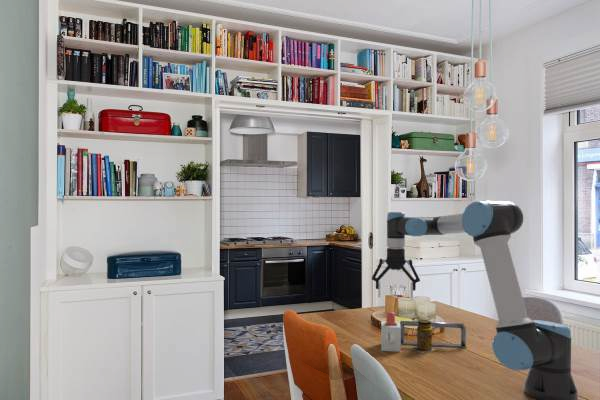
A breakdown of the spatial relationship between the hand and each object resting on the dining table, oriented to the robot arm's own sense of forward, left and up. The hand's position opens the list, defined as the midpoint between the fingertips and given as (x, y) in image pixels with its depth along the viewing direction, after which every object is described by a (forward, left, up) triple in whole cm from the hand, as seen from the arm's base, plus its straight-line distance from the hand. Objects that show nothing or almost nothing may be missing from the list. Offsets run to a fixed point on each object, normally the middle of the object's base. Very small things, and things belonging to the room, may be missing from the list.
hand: (395, 297), depth 204 cm
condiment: (-1, -11, -22) cm, 25 cm away
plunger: (0, +2, -16) cm, 16 cm away
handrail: (+7, -16, -22) cm, 28 cm away
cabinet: (0, +2, -22) cm, 22 cm away
